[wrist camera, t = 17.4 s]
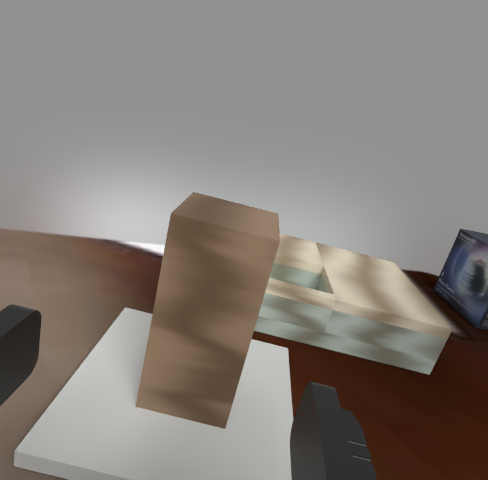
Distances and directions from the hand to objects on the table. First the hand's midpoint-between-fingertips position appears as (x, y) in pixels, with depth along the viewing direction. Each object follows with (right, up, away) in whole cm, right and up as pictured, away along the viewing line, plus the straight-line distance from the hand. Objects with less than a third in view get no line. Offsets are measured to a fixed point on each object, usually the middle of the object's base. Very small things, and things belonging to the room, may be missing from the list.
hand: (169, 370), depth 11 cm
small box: (+34, -6, +42) cm, 54 cm away
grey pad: (-2, -7, +14) cm, 15 cm away
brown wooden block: (-1, -6, +13) cm, 15 cm away
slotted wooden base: (+9, -3, +31) cm, 32 cm away
